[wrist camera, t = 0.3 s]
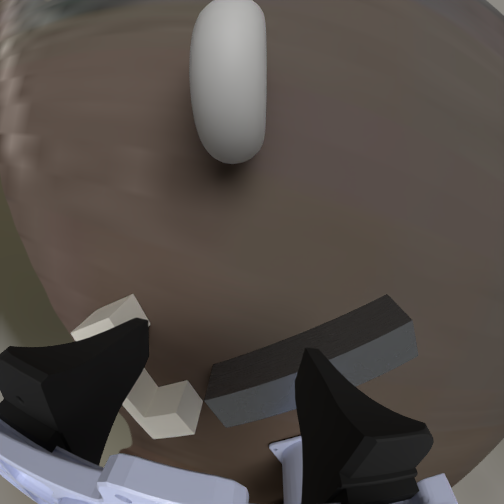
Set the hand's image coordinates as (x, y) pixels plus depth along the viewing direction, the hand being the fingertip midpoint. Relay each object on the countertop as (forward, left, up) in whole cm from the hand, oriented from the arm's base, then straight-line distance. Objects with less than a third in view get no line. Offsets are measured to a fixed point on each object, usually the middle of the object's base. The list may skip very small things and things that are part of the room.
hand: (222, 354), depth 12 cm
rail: (-8, -3, -10) cm, 13 cm away
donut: (+12, -6, -10) cm, 17 cm away
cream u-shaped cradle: (-4, +10, -10) cm, 15 cm away
